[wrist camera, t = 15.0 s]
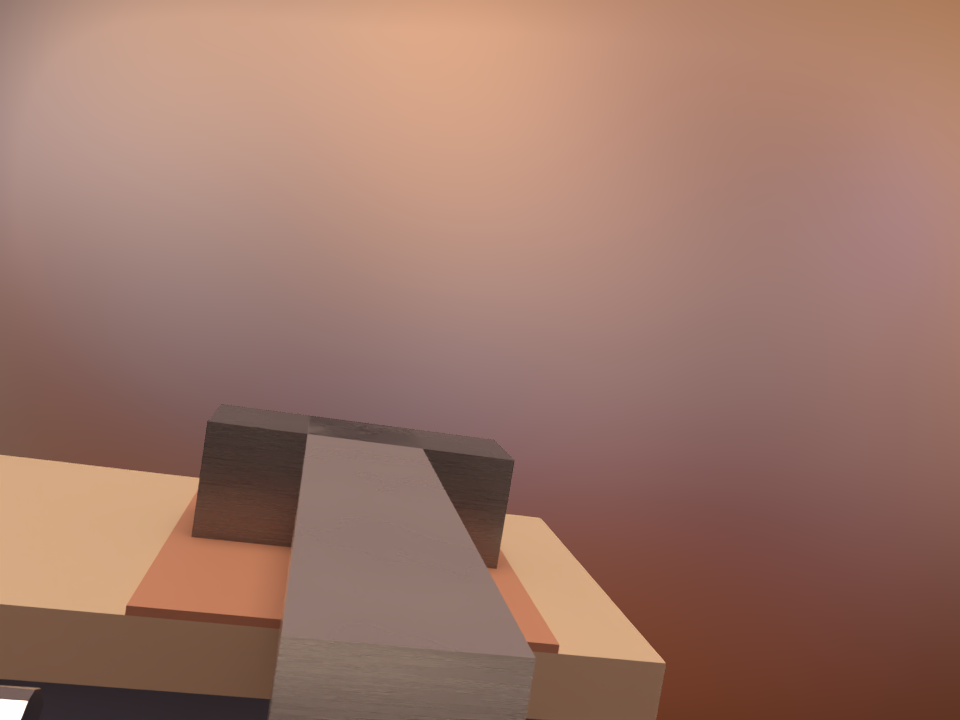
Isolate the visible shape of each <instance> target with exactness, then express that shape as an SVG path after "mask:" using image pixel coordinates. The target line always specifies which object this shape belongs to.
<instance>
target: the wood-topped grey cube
mask: <svg viewBox="0 0 960 720" xmlns="http://www.w3.org/2000/svg"><path fill="white" fill-rule="evenodd" d="M198 485H199V478H194V477H184V476H176V475H167V474H159V473H151V472H142V471H133V470H125V469H116V468H108V467H99V466H91V465H82V464H73V463H65V462H56V461H48V460H40V459H30V458H22V457H14V456H5V455H0V685H5V686H19V687H33V688H41V692H42V699H43V705H44V706H43V708H42V711H41V714H40V717H39V719H38V720H267V717H268V710H269V703H270V695H271V688H272V681H273V674H274V666H275V659H276V652H277V644H278V637H279V630H280V623H281V615H282V608H283V601H284V593H285V586H286V579H287V572H288V564H289V557H290V550H291V547H282V546H273V545H263V544H254V543H244V542H235V541H225V540H215V539H206V538H196V537H191V535H192V528H193V521H194V514H195V507H196V500H197V493H198ZM487 569H488V571H489V572H490V574H491V576H492V578H493V580H494V582H495V584H496V585H497V587H498V589H499V591H500V593H501V595H502V596H503V598H504V600H505V602H506V604H507V606H508V608H509V609H510V611H511V613H512V615H513V617H514V619H515V621H516V622H517V624H518V626H519V628H520V630H521V632H522V634H523V635H524V637H525V639H526V641H527V643H528V645H529V646H530V648H531V650H532V652H533V654H534V656H535V658H536V660H535V666H534V672H533V678H532V684H531V690H530V696H529V702H528V708H527V714H526V719H525V720H656V716H657V710H658V704H659V699H660V693H661V688H662V682H663V677H664V671H665V666H666V663H665V662H664V661H663V659H662V658H661V657H660V656H659V655H658V654H657V652H656V651H655V650H654V649H653V648H652V647H651V645H650V644H649V643H648V642H647V641H646V640H645V639H644V637H643V636H642V635H641V634H640V633H639V632H638V630H637V629H636V628H635V627H634V626H633V625H632V624H631V622H630V621H629V620H628V619H627V618H626V616H625V615H624V614H623V613H622V612H621V611H620V610H619V609H618V607H617V606H616V605H615V604H614V603H613V602H612V600H611V599H610V598H609V597H608V596H607V595H606V593H605V592H604V591H603V590H602V589H601V588H600V586H599V585H598V584H597V583H596V582H595V581H594V579H593V578H592V577H591V576H590V575H589V574H588V572H587V571H586V570H585V569H584V568H583V567H582V566H581V564H580V563H579V562H578V561H577V560H576V559H575V557H574V556H573V555H572V554H571V553H570V552H569V550H568V549H567V548H566V547H565V546H564V545H563V544H562V542H561V541H560V540H559V539H558V538H557V537H556V535H555V534H554V533H553V532H552V531H551V530H550V528H549V527H548V526H547V525H546V524H545V523H544V521H543V520H542V519H541V518H535V517H527V516H519V515H510V514H506V515H505V521H504V527H503V534H502V540H501V546H500V552H499V558H498V564H497V569H493V568H487Z"/></svg>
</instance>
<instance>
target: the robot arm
mask: <svg viewBox="0 0 960 720" xmlns="http://www.w3.org/2000/svg"><path fill="white" fill-rule="evenodd" d="M43 706H44V705H43V699H42V692H41V688H33V687H19V686H5V685H0V720H38V719H39V717H40V714H41V711H42V708H43Z"/></svg>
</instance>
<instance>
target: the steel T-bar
mask: <svg viewBox="0 0 960 720" xmlns="http://www.w3.org/2000/svg"><path fill="white" fill-rule="evenodd" d="M513 467H514V459H512V458H511V456H510V455H509V454H507V452H506V451H505V450H504V449H503V448H502V447H501V446H500V445H498V443H497V442H496V441H495V440H491V439H482V438H476V437H468V436H460V435H452V434H445V433H438V432H429V431H422V430H414V429H407V428H399V427H392V426H384V425H377V424H369V423H361V422H353V421H346V420H339V419H330V418H323V417H316V416H307V415H301V414H293V413H285V412H277V411H269V410H262V409H255V408H247V407H240V406H232V405H224V404H221V405H220V407H219V408H218V409H217V410H216V411H215V413H214V414H213V415H212V416H211V418H210V419H209V420H208V421H207V428H206V435H205V443H204V450H203V457H202V465H201V471H200V478H199V485H198V493H197V500H196V507H195V514H194V521H193V528H192V535H191V537H196V538H206V539H215V540H225V541H235V542H244V543H254V544H263V545H273V546H282V547H291V550H290V557H289V564H288V572H287V579H286V586H285V593H284V601H283V608H282V615H281V623H280V630H279V637H278V644H277V652H276V659H275V666H274V674H273V681H272V688H271V695H270V703H269V710H268V717H267V720H525V719H526V714H527V708H528V702H529V696H530V690H531V684H532V678H533V672H534V666H535V660H536V658H535V656H534V654H533V652H532V650H531V648H530V646H529V645H528V643H527V641H526V639H525V637H524V635H523V634H522V632H521V630H520V628H519V626H518V624H517V622H516V621H515V619H514V617H513V615H512V613H511V611H510V609H509V608H508V606H507V604H506V602H505V600H504V598H503V596H502V595H501V593H500V591H499V589H498V587H497V585H496V584H495V582H494V580H493V578H492V576H491V574H490V572H489V571H488V569H487V568H493V569H497V564H498V558H499V552H500V546H501V540H502V534H503V527H504V521H505V515H506V509H507V503H508V497H509V491H510V485H511V478H512V472H513Z"/></svg>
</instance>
